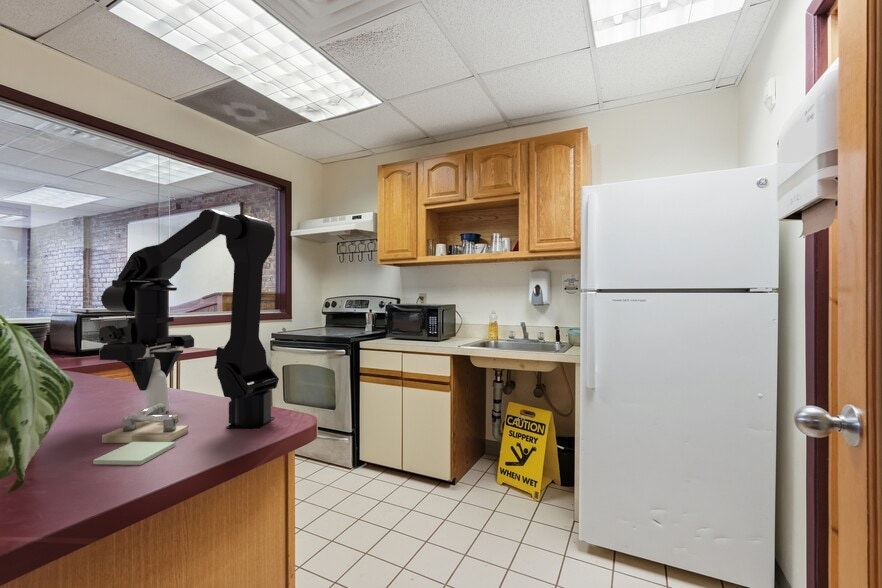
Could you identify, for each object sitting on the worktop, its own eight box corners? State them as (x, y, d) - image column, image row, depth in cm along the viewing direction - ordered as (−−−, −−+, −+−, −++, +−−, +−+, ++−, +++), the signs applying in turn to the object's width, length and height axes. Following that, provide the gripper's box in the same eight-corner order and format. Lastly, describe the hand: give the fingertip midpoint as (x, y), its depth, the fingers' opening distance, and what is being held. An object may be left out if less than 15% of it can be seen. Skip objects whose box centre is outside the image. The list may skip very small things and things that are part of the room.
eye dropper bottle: (173, 403, 85) (166, 349, 83) (169, 412, 80) (162, 355, 78) (148, 407, 83) (141, 353, 81) (143, 417, 78) (135, 359, 77)
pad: (175, 445, 63) (175, 442, 63) (141, 464, 56) (141, 460, 56) (132, 445, 63) (132, 441, 63) (93, 464, 56) (93, 460, 56)
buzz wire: (209, 421, 75) (209, 401, 75) (167, 443, 64) (167, 420, 64) (152, 420, 75) (152, 401, 75) (102, 442, 64) (102, 419, 64)
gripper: (148, 310, 90) (148, 377, 90) (70, 314, 72) (69, 399, 72) (195, 310, 90) (195, 378, 90) (129, 315, 71) (129, 400, 71)
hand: (151, 387), depth 81 cm, fingers closed on eye dropper bottle, 4 cm apart
